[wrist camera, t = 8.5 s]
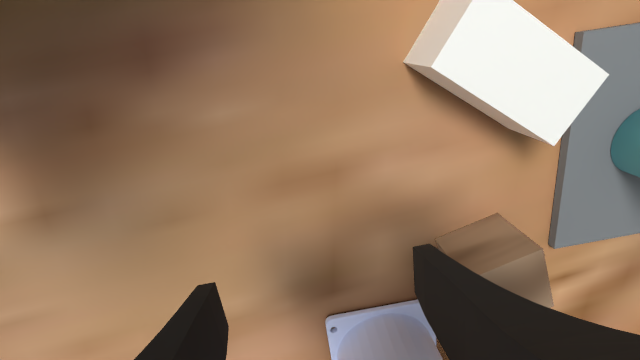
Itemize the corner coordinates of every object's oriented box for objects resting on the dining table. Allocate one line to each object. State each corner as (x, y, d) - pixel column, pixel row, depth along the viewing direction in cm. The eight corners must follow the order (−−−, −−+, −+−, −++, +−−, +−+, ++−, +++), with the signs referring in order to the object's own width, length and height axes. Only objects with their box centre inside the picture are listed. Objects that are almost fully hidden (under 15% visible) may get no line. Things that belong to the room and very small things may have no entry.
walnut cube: (508, 262, 25) (553, 306, 21) (450, 286, 26) (483, 334, 22) (496, 212, 24) (542, 248, 20) (434, 238, 24) (467, 279, 20)
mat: (679, 220, 26) (688, 223, 25) (548, 244, 25) (554, 248, 25) (740, 7, 20) (753, 6, 20) (575, 32, 20) (583, 32, 19)
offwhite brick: (549, 68, 21) (609, 74, 17) (506, 128, 22) (553, 146, 18) (443, -9, 18) (485, -21, 15) (401, 62, 20) (430, 67, 16)
